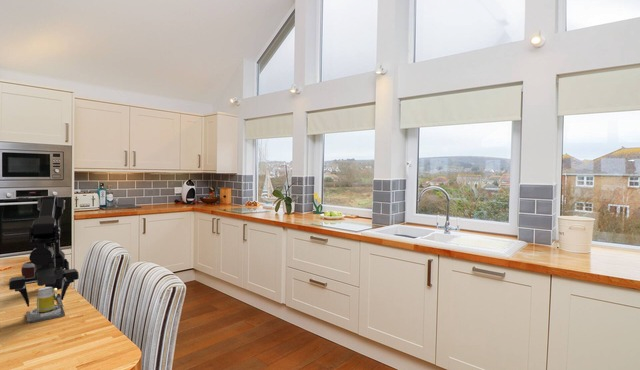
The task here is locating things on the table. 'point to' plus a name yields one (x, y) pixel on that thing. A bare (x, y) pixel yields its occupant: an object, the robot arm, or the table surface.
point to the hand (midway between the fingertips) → (45, 303)
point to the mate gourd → (28, 270)
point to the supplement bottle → (45, 300)
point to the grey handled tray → (58, 312)
